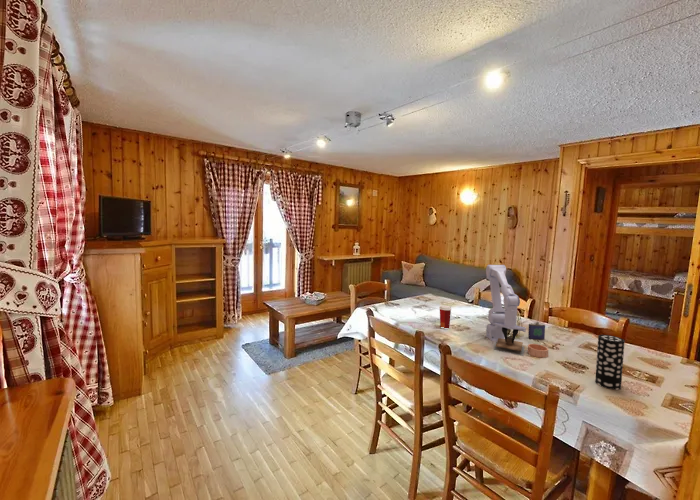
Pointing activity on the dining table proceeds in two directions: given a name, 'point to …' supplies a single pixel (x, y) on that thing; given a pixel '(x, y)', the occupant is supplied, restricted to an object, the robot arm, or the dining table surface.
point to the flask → (536, 331)
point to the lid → (509, 344)
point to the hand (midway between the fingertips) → (509, 342)
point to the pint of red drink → (445, 316)
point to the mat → (510, 350)
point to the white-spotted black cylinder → (609, 361)
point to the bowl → (537, 350)
